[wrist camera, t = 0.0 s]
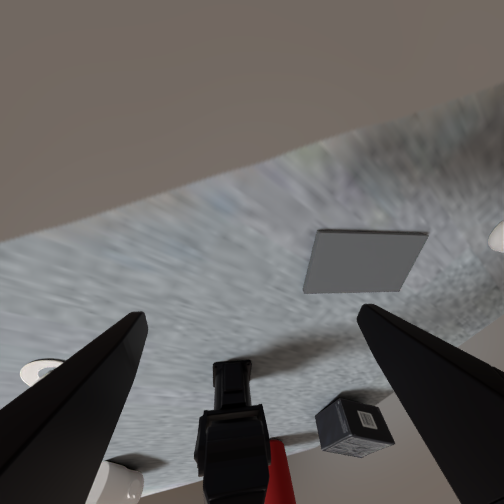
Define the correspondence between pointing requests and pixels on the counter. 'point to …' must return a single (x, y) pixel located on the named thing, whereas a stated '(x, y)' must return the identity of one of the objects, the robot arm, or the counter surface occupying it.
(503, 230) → the cup
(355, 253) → the mat
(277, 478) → the beverage can
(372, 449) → the small box
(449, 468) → the robot arm
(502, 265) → the counter surface
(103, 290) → the counter surface
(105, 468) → the white cylinder
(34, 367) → the teacup and saucer
